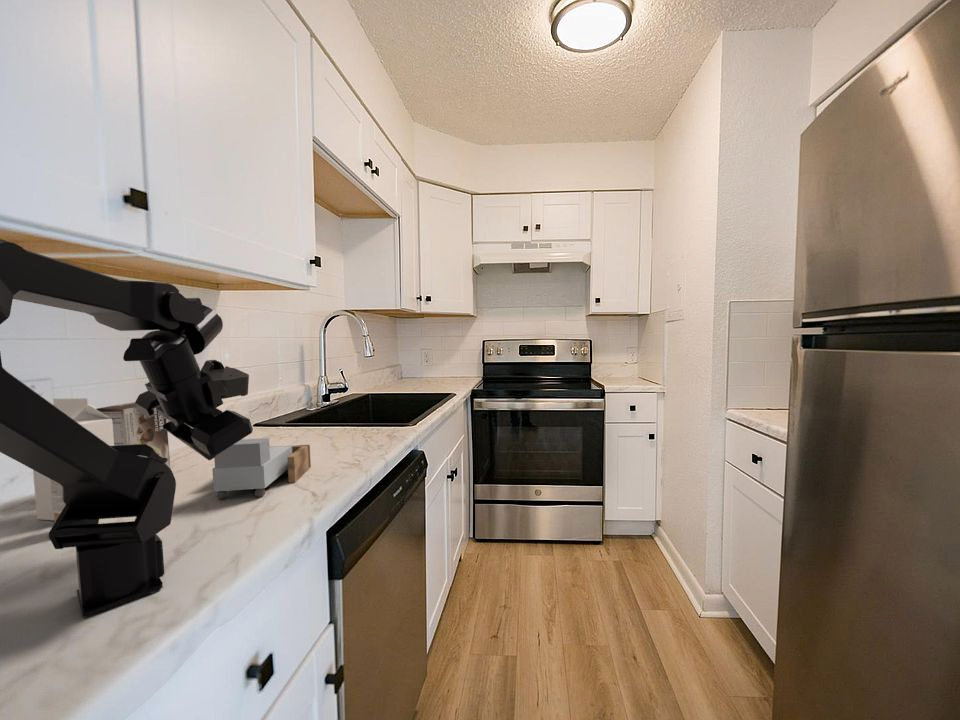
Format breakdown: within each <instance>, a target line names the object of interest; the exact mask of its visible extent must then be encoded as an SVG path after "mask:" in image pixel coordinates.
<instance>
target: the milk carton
mask: <svg viewBox="0 0 960 720" xmlns="http://www.w3.org/2000/svg"><path fill="white" fill-rule="evenodd" d="M52 401H53V405H54V406H55V407H57V408H58V409H60V410H61V411H62V412H64V413H65V414H66V415H68V416H69V417H71V418H72V419H73V420H75V421H76V422H78V423H79V424H80V425H82V426H83V427H84V428H86V429H87V430H89V431H90V432H91V433H93V434H94V435H95V436H97V437H98V438H100V439H101V440H102V441H104V442H105V443H106V444H108V445H109V446H114V436H113V423H112V418H110V417H108V416H107V415H105V414H103V413H102V412H100V411H98V410H97V407H95V406H93V405H92V404H90V403H89V398H85V397H84V398H82V397H81V398H77V397H76V398H73V397H72V398H71V397H70V398H53V399H52ZM32 473H33V484H34V485H33V486H34V496H35V498H34V499H35V507H36V509H35V510H36V519H37V520H44V521H55V520H54V512H53V505H52V493H51V481H50V478H48V477H46V476H44V475H42V474H40V473H38V472H37V471H35V470H33V469H32Z"/></svg>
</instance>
